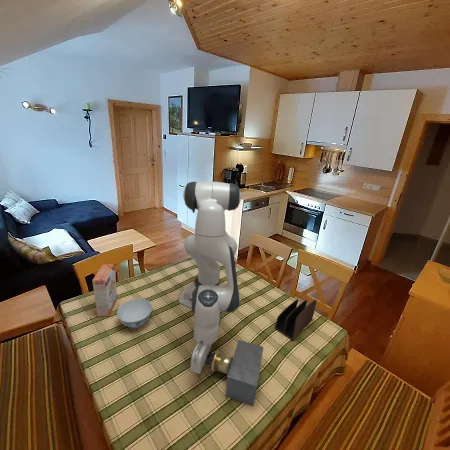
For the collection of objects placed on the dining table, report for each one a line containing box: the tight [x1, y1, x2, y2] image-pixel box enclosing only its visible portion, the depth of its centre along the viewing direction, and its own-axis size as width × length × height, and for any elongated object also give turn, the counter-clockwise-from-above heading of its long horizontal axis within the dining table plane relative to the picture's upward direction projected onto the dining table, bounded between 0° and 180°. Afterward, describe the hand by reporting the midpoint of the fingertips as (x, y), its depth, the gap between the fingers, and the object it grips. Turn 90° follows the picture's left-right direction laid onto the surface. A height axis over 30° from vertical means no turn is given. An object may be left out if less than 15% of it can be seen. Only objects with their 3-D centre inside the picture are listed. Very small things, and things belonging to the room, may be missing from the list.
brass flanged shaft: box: [204, 349, 234, 375], centre depth 89 cm, size 15×7×7 cm, turn 74°
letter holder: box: [274, 298, 317, 342], centre depth 114 cm, size 10×20×14 cm, turn 135°
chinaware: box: [116, 298, 153, 329], centre depth 109 cm, size 15×15×8 cm
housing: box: [225, 339, 264, 407], centre depth 87 cm, size 10×16×10 cm, turn 164°
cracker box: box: [91, 263, 118, 318], centre depth 115 cm, size 14×6×21 cm, turn 8°
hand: (204, 358), depth 91 cm, fingers closed on brass flanged shaft, 3 cm apart
